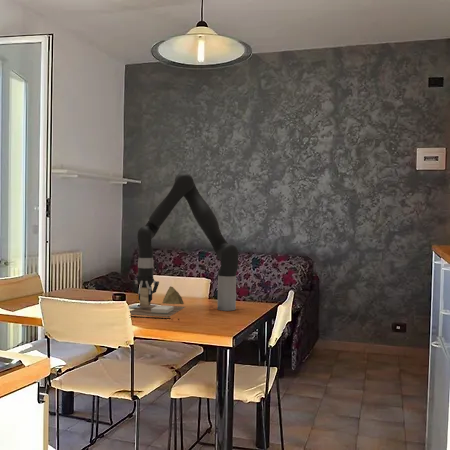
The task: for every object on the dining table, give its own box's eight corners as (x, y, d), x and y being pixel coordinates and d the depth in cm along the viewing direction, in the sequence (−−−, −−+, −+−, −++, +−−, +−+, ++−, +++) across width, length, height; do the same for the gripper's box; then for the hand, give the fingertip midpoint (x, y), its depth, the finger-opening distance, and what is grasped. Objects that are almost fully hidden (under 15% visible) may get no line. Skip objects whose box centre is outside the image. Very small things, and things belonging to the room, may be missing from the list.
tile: (158, 305, 261) (151, 308, 251) (173, 306, 259) (167, 309, 249) (157, 309, 261) (151, 312, 251) (173, 310, 259) (167, 313, 249)
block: (142, 304, 265) (143, 286, 265) (150, 304, 265) (150, 286, 264) (139, 305, 261) (140, 287, 261) (147, 306, 261) (147, 287, 260)
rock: (189, 301, 280) (176, 296, 287) (183, 289, 276) (170, 284, 282) (176, 315, 275) (163, 310, 281) (170, 303, 270) (157, 298, 277)
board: (144, 306, 274) (144, 304, 274) (185, 309, 269) (185, 306, 269) (123, 316, 246) (123, 314, 246) (168, 319, 242) (168, 316, 242)
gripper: (161, 266, 265) (161, 301, 265) (134, 265, 268) (134, 299, 268) (157, 268, 258) (156, 303, 258) (129, 267, 260) (128, 302, 261)
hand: (145, 301), depth 263 cm, fingers closed on block, 4 cm apart
